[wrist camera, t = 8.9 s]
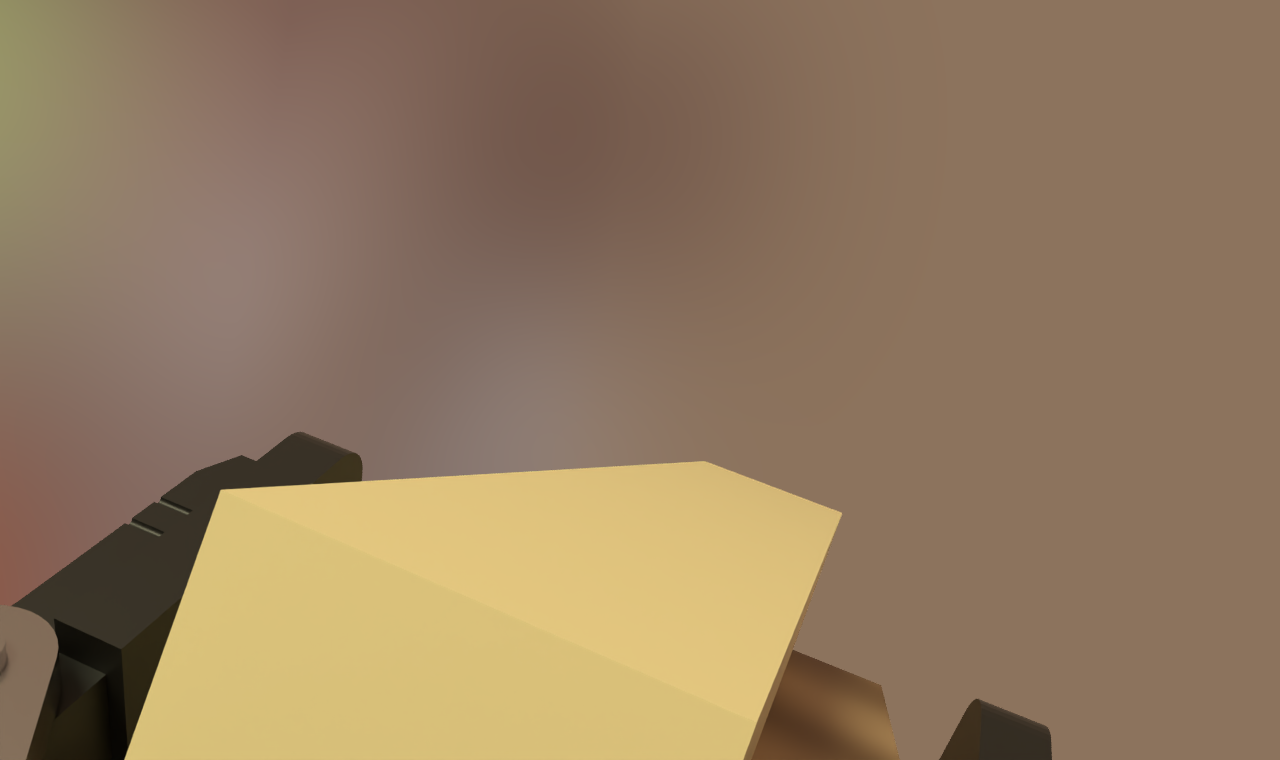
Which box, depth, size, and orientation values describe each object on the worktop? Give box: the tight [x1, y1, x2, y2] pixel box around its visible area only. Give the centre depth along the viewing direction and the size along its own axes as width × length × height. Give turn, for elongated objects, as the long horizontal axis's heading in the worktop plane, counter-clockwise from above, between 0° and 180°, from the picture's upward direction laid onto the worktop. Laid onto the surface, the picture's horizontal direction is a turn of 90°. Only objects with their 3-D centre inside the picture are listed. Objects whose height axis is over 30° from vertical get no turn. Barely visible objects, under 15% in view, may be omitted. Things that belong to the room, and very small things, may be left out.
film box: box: [124, 461, 842, 760], centre depth 17 cm, size 22×4×4 cm, turn 167°
